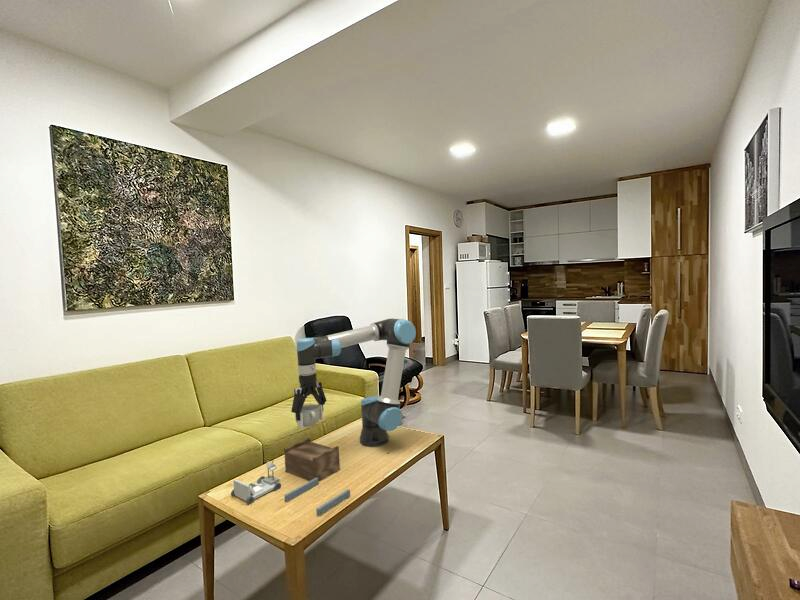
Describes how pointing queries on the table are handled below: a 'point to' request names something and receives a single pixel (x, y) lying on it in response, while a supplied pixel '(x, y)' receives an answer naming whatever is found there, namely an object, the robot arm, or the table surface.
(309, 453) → the walnut stand
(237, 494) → the toy rover
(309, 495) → the table surface
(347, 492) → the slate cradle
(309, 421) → the teacup
